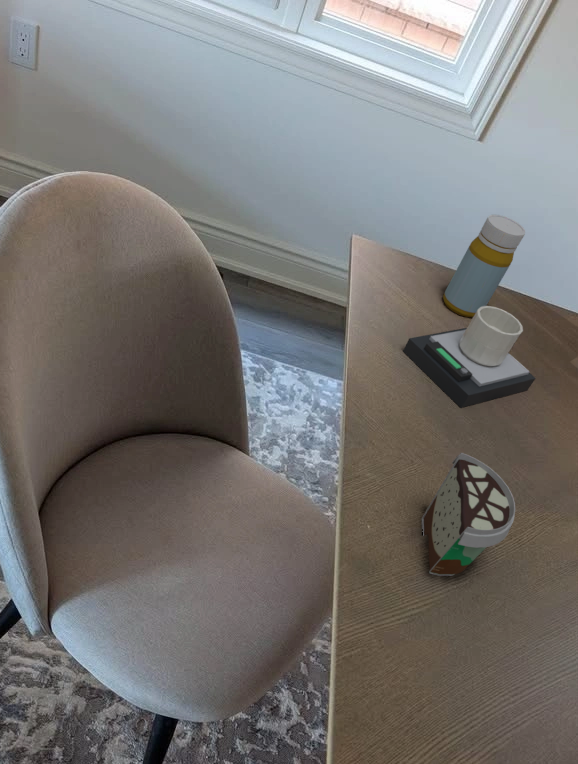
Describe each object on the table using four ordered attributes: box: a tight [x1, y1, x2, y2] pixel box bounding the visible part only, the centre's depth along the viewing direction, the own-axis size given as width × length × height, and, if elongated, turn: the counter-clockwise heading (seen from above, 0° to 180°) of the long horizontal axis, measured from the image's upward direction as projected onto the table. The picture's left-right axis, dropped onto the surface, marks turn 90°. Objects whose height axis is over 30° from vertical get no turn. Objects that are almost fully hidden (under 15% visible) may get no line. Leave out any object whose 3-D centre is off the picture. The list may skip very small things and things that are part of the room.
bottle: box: [442, 214, 526, 318], centre depth 121 cm, size 7×7×15 cm
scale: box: [402, 327, 537, 409], centre depth 111 cm, size 15×13×4 cm
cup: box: [460, 305, 524, 366], centre depth 109 cm, size 7×7×6 cm
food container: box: [421, 452, 516, 577], centre depth 81 cm, size 12×6×10 cm, turn 170°
